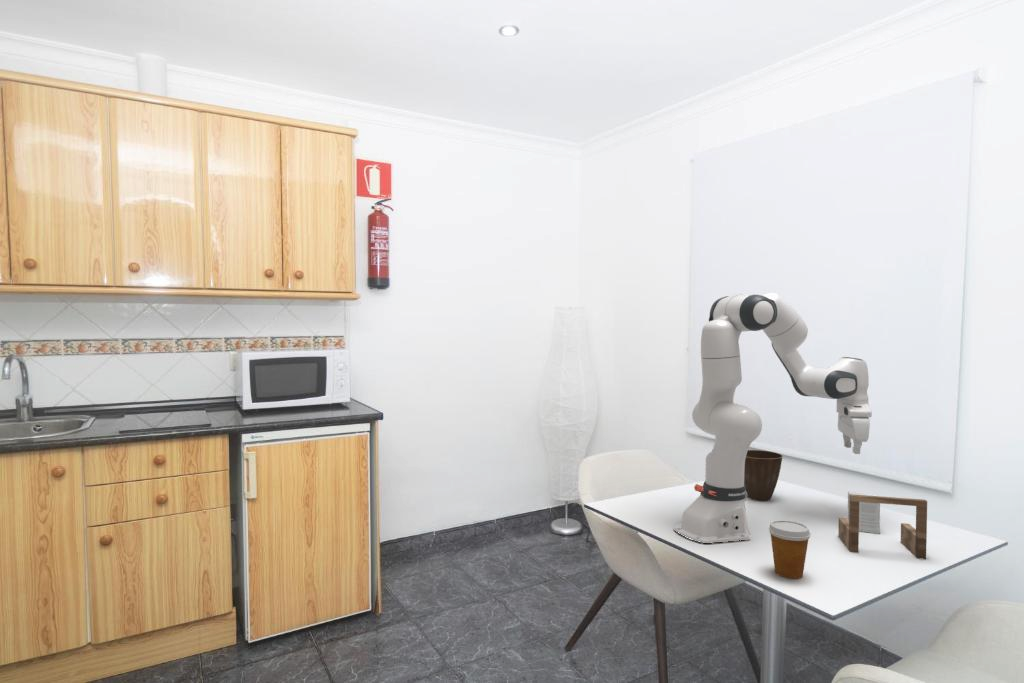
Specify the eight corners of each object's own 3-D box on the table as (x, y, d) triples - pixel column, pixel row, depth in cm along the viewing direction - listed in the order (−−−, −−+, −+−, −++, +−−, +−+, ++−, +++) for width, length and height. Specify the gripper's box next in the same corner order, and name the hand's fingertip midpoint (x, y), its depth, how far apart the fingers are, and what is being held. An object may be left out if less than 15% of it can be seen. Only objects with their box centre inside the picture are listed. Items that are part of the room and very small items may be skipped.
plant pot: (729, 497, 208) (729, 453, 208) (748, 489, 218) (748, 447, 218) (770, 507, 197) (771, 460, 197) (788, 498, 207) (789, 454, 207)
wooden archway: (838, 536, 170) (839, 484, 169) (908, 542, 165) (909, 489, 165) (850, 551, 158) (851, 495, 158) (926, 559, 153) (927, 501, 153)
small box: (877, 528, 177) (877, 494, 177) (880, 534, 172) (880, 499, 172) (847, 524, 180) (847, 491, 180) (849, 530, 175) (849, 495, 175)
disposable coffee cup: (791, 584, 138) (791, 535, 138) (759, 569, 147) (760, 522, 146) (819, 577, 142) (819, 529, 142) (786, 563, 151) (787, 517, 150)
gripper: (832, 403, 196) (832, 443, 197) (850, 412, 177) (850, 456, 177) (853, 403, 195) (853, 444, 195) (873, 412, 175) (873, 457, 175)
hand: (851, 450), depth 186 cm, fingers open, 8 cm apart
